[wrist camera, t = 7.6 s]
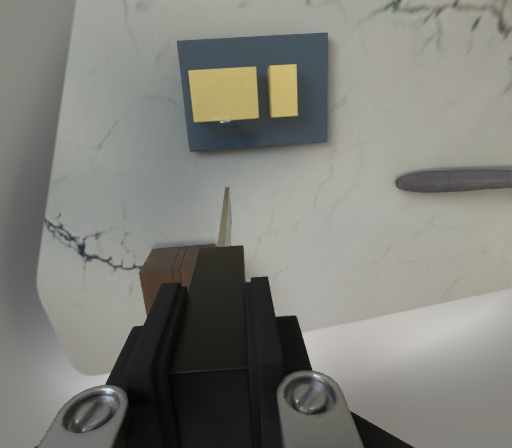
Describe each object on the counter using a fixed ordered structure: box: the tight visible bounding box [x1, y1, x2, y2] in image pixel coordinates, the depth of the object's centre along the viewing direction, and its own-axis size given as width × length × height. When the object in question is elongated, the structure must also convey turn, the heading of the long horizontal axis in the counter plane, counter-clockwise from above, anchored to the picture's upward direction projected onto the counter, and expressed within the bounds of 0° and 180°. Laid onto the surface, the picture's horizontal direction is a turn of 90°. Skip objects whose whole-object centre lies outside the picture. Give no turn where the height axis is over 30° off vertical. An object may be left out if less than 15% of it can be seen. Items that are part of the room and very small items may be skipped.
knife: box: [168, 187, 253, 448], centre depth 16 cm, size 2×2×18 cm
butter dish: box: [177, 33, 328, 151], centre depth 33 cm, size 14×10×3 cm
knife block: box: [139, 244, 215, 316], centre depth 37 cm, size 7×7×6 cm
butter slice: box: [267, 64, 298, 117], centre depth 33 cm, size 2×4×2 cm, turn 3°
